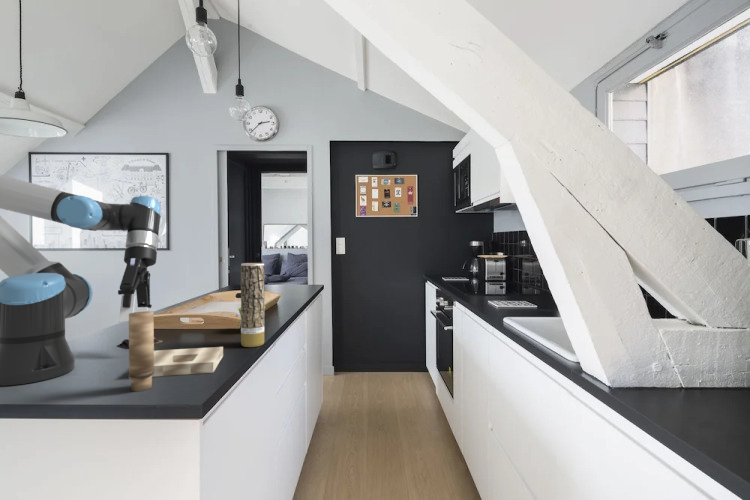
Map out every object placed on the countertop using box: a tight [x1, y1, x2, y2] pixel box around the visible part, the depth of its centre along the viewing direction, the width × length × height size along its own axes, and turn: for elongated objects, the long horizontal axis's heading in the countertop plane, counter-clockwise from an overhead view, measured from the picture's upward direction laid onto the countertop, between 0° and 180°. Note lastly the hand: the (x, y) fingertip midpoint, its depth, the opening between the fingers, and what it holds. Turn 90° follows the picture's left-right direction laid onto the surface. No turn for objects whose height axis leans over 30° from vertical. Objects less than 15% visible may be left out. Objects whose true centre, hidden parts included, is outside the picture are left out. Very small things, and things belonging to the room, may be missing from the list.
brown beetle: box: [116, 336, 163, 350], centre depth 116 cm, size 11×8×4 cm
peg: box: [128, 310, 155, 392], centre depth 80 cm, size 5×5×16 cm
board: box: [128, 346, 224, 379], centre depth 95 cm, size 18×14×2 cm
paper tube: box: [240, 262, 265, 348], centre depth 115 cm, size 7×7×25 cm
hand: (133, 326), depth 97 cm, fingers open, 13 cm apart
